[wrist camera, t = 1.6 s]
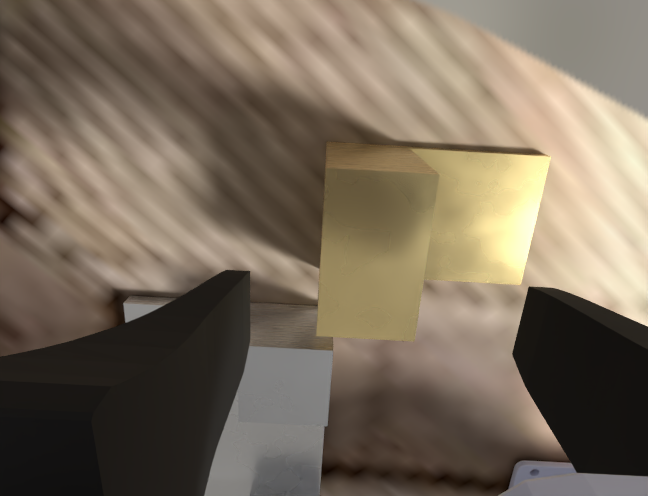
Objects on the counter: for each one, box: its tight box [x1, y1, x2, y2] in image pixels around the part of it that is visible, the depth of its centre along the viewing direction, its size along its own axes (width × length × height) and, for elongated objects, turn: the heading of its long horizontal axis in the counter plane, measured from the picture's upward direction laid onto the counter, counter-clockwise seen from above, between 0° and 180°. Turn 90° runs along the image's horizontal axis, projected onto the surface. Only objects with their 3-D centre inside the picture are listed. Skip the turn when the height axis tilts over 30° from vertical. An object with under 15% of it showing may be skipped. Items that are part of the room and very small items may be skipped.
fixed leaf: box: [123, 296, 333, 496], centre depth 23 cm, size 10×16×4 cm, turn 177°
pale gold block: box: [316, 142, 551, 341], centre depth 18 cm, size 10×6×6 cm, turn 87°
